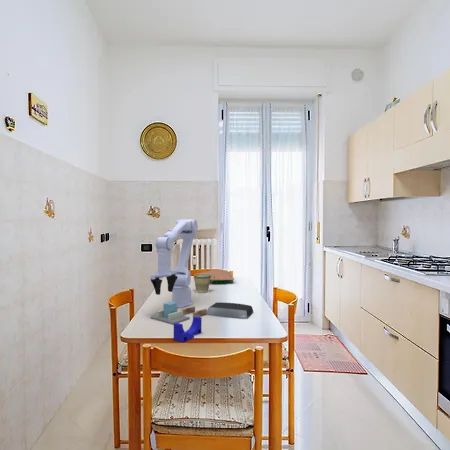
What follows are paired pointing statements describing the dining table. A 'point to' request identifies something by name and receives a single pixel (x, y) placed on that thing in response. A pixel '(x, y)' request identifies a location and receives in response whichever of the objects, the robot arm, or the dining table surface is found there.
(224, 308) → the external hard drive
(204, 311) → the cradle
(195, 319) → the blue cradle holder
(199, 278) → the ceramic cup
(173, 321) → the dock
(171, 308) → the blue rectangular block
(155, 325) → the dining table surface
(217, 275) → the sandwich
